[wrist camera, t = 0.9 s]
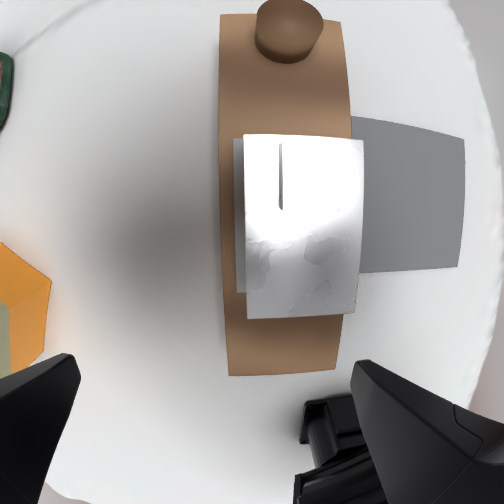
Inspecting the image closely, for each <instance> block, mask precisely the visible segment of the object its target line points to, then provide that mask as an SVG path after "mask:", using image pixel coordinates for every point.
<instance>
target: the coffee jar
mask: <svg viewBox="0 0 504 504" xmlns="http://www.w3.org/2000/svg"><path fill="white" fill-rule="evenodd" d="M11 71H12V62H11V58H10V57H9V55H7V54H5V53H2V52H0V126H1V124H2V122H3V121H4V119H5V116H6V113H7V108H8V101H9V93H10V85H11Z"/></svg>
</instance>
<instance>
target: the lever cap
mask: <svg viewBox="0 0 504 504" xmlns="http://www.w3.org/2000/svg"><path fill="white" fill-rule="evenodd" d="M363 199H364V148H363V140H353V139H343V138H331V137H317V136H297V135H244V209H245V260H246V297H247V319H260V318H285V317H304V316H319V315H333V314H345V313H354V310H355V302H356V294H357V286H358V276H359V266H360V255H361V241H362V225H363Z"/></svg>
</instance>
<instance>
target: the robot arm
mask: <svg viewBox="0 0 504 504" xmlns="http://www.w3.org/2000/svg"><path fill="white" fill-rule="evenodd" d="M80 381H81V374H80V371H79V368H78V366H77V363H76V360H75V358H74V356H73V355H71V354H66V353H61V354H59V355H56V356H54V357H52V358H49V359H47V360H45V361H42V362H40V363H37V364H35V365H32V366H30V367H28V368H25V369H23V370H20V371H18V372H15V373H13V374H11V375H8V376H6V377H3V378H1V379H0V504H37V503H38V500H39V497H40V493H41V490H42V487H43V484H44V481H45V478H46V475H47V472H48V469H49V466H50V463H51V461H52V458H53V455H54V453H55V450H56V447H57V445H58V442H59V440H60V437H61V435H62V432H63V430H64V427H65V425H66V422H67V420H68V418H69V415H70V412H71V409H72V406H73V403H74V399H75V396H76V393H77V390H78V387H79V384H80ZM350 387H351V392H352V396H346V397H340V398H333V399H326V400H318V401H310V402H307V403H306V404H305V405H304V412H303V418H302V424H301V431H300V437H299V442H300V444H310V447H311V451H312V455H313V459H314V463H315V468H316V469H313V470H311V471H308V472H305V473H303V474H302V473H300V474H297V475H295V482H294V495H293V504H504V424H503V423H500V422H497V421H494V420H491V419H488V418H486V417H483V416H481V415H478V414H475V413H473V412H470V411H469V410H466V409H464V408H462V407H460V406H458V405H456V404H453V403H452V402H450V401H448V400H446V399H444V398H442V397H440V396H438V395H436V394H434V393H432V392H430V391H428V390H426V389H424V388H422V387H420V386H418V385H416V384H414V383H412V382H410V381H408V380H406V379H404V378H403V377H401V376H399V375H397V374H395V373H393V372H391V371H389V370H387V369H386V368H384V367H382V366H380V365H378V364H376V363H374V362H373V361H371V360H368V359H366V360H359V361H357V362H355V365H354V368H353V373H352V377H351V381H350ZM309 406H311V407H309Z"/></svg>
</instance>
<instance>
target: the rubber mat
mask: <svg viewBox="0 0 504 504" xmlns="http://www.w3.org/2000/svg"><path fill="white" fill-rule="evenodd" d="M351 135H352V139H353V140H363V148H364V199H363V225H362V241H361V255H360V266H359V273H373V272H391V271H407V270H422V269H437V268H450V267H457V266H458V260H459V253H460V246H461V237H462V228H463V216H464V200H465V148H464V139H460V138H457V137H454V136H450V135H446V134H443V133H439V132H435V131H431V130H426V129H422V128H418V127H413V126H408V125H403V124H398V123H393V122H387V121H381V120H375V119H369V118H362V117H354V116H351Z"/></svg>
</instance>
